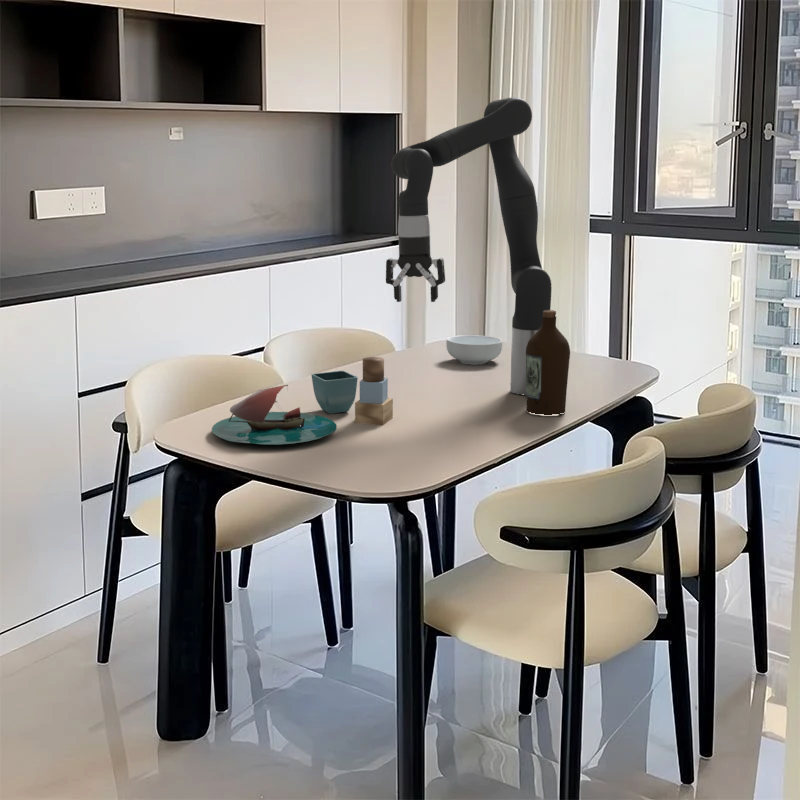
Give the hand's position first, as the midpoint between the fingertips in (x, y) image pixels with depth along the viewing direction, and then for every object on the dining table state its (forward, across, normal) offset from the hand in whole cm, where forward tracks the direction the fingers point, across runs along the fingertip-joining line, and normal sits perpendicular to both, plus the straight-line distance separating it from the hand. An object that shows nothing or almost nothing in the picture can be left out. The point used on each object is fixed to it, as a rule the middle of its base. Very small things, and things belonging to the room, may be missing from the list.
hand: (416, 301), depth 267 cm
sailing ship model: (+26, +26, +33) cm, 49 cm away
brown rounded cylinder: (+16, +7, +15) cm, 23 cm away
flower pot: (+26, +19, +9) cm, 33 cm away
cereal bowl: (+28, -3, -59) cm, 66 cm away
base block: (+26, +7, +15) cm, 31 cm away
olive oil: (+28, -31, -3) cm, 42 cm away
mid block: (+21, +7, +15) cm, 27 cm away
